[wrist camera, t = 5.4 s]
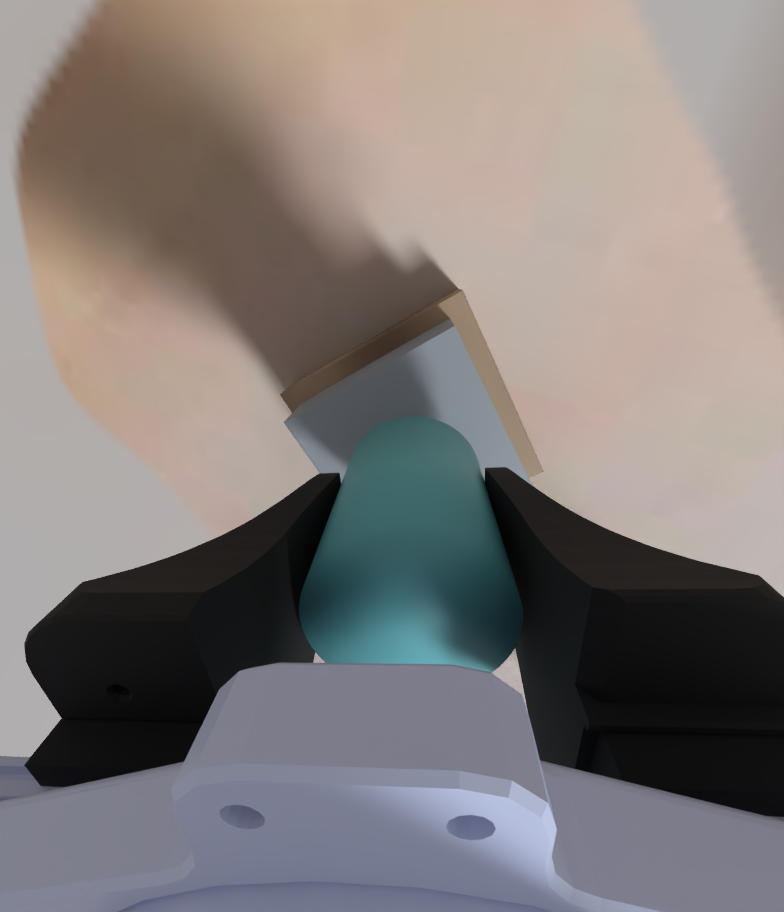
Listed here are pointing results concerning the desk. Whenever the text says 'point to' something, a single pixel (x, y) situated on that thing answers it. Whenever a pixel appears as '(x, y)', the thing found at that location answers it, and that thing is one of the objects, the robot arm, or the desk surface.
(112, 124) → the desk surface
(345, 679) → the robot arm
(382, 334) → the walnut slab
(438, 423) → the teal capsule
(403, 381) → the grey slab
